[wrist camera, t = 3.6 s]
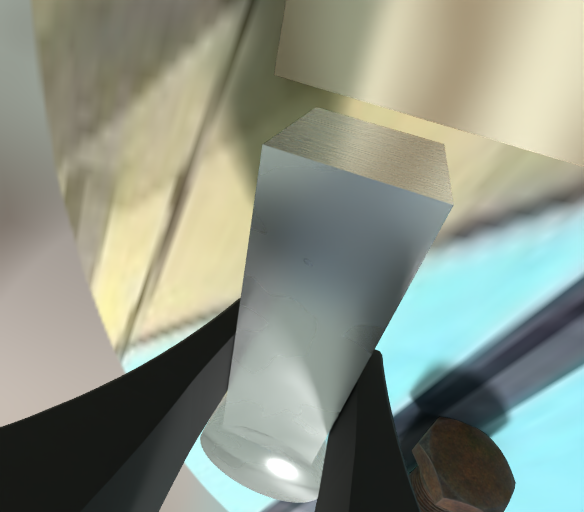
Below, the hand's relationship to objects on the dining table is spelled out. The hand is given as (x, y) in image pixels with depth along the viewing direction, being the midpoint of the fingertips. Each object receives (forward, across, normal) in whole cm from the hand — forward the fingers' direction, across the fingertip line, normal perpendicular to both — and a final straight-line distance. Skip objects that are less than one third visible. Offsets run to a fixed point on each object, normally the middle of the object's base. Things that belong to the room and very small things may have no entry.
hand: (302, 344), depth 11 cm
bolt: (+9, -11, +18) cm, 23 cm away
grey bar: (+2, 0, 0) cm, 2 cm away
